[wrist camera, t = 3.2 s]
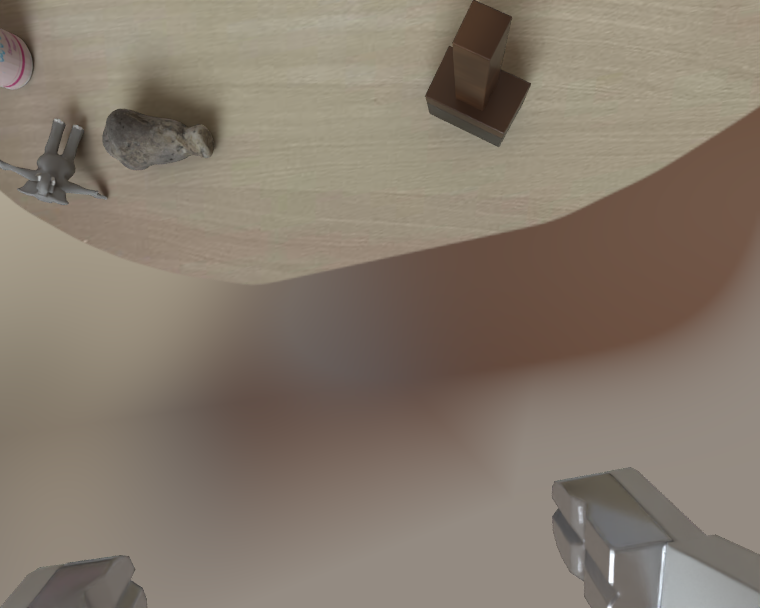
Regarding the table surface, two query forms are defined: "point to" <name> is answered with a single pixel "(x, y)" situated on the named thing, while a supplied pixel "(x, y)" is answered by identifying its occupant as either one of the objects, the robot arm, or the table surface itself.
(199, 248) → the table surface
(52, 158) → the elephant figurine
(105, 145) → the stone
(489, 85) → the brush
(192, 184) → the table surface
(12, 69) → the beverage can
